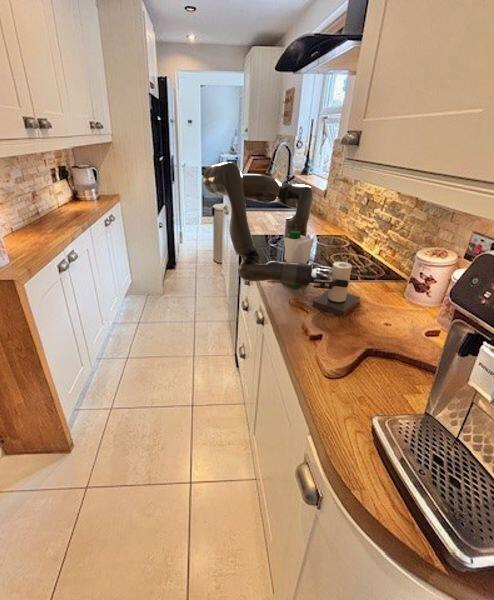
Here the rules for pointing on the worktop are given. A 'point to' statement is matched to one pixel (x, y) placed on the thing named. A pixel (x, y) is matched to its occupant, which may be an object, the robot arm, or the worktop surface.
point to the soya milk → (297, 250)
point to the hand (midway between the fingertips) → (347, 280)
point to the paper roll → (343, 273)
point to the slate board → (336, 304)
